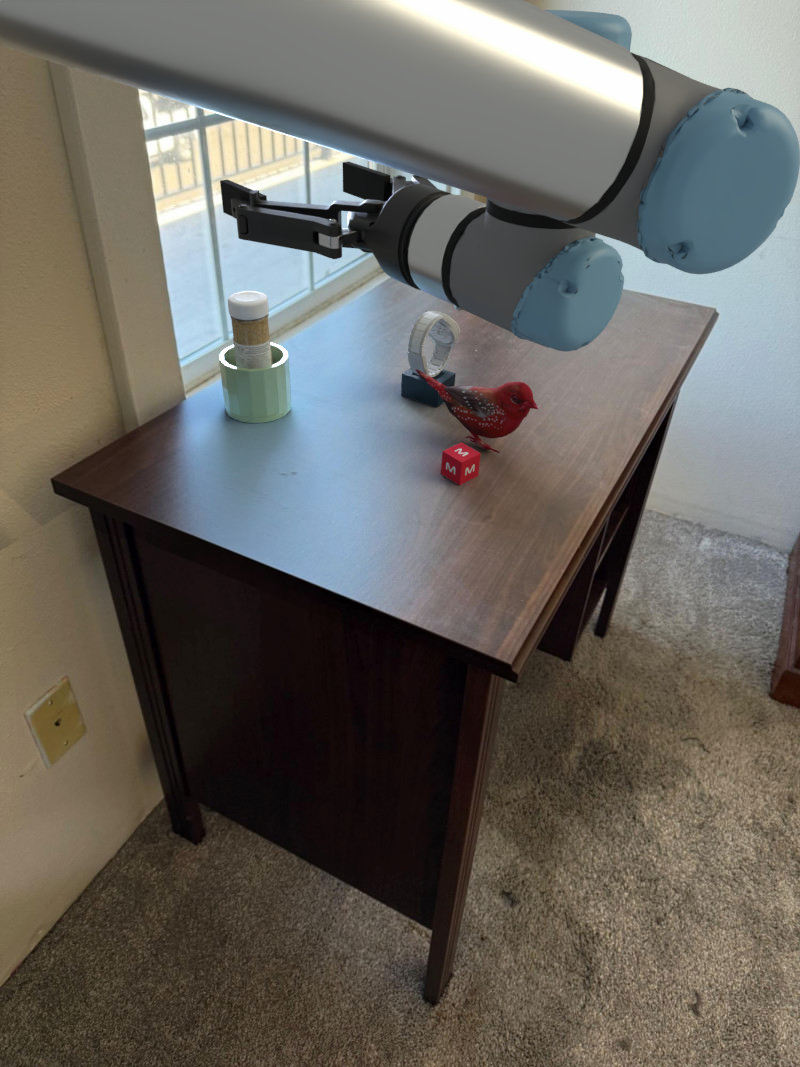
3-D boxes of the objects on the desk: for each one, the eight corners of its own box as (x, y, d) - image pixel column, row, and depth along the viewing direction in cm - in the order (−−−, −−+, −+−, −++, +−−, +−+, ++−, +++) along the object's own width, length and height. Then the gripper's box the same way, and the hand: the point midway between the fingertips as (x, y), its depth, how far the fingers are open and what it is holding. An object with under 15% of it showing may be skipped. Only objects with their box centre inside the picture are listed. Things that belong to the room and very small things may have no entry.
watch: (461, 389, 100) (468, 309, 93) (429, 413, 94) (435, 330, 87) (425, 377, 102) (430, 299, 95) (392, 400, 97) (395, 318, 90)
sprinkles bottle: (274, 391, 96) (266, 288, 87) (277, 409, 92) (269, 303, 84) (238, 394, 95) (226, 290, 86) (239, 411, 91) (227, 304, 83)
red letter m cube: (478, 476, 83) (481, 453, 81) (459, 485, 82) (461, 462, 80) (459, 464, 85) (461, 442, 83) (440, 473, 83) (442, 450, 82)
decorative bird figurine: (520, 474, 84) (533, 395, 78) (405, 418, 93) (408, 342, 87) (535, 465, 86) (549, 386, 79) (420, 410, 95) (424, 335, 89)
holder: (226, 425, 90) (219, 372, 86) (224, 394, 96) (218, 343, 92) (294, 420, 92) (291, 368, 87) (288, 389, 98) (284, 339, 94)
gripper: (309, 327, 54) (173, 249, 67) (537, 262, 67) (388, 207, 80) (305, 219, 50) (160, 157, 62) (551, 172, 63) (390, 129, 75)
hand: (288, 185), depth 71 cm, fingers open, 13 cm apart
